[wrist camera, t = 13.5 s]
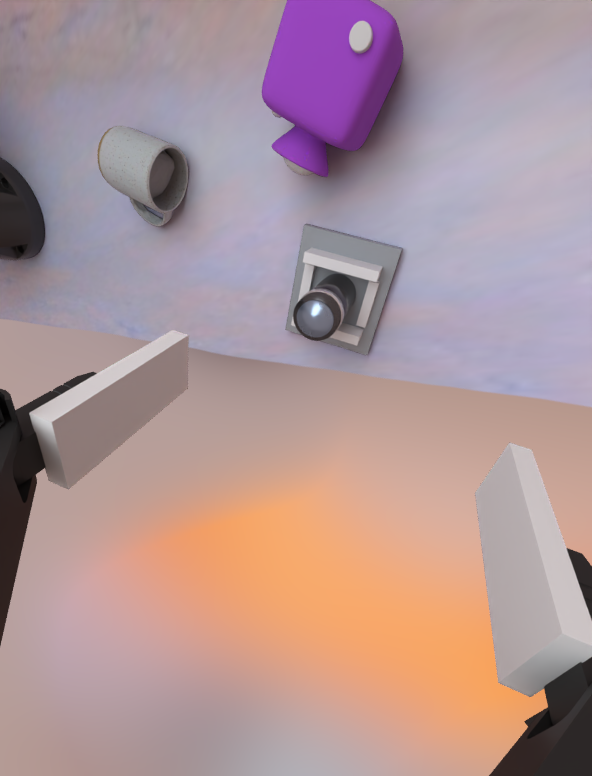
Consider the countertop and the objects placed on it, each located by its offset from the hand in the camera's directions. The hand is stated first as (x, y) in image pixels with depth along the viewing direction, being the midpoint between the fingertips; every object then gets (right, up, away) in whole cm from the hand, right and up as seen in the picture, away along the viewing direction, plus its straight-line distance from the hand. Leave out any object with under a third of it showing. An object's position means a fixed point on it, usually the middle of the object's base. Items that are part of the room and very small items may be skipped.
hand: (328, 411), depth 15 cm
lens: (+4, +13, +32) cm, 35 cm away
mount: (+4, +14, +33) cm, 36 cm away
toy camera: (+3, +31, +23) cm, 39 cm away
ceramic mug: (-19, +28, +33) cm, 48 cm away
